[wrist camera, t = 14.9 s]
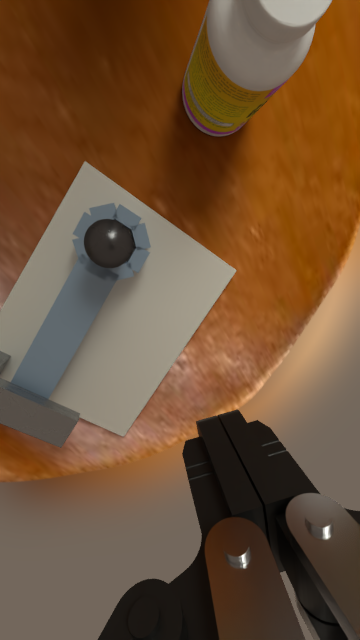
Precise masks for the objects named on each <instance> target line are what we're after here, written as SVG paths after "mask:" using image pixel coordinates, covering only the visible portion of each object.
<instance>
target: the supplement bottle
mask: <svg viewBox="0 0 360 640" xmlns="http://www.w3.org/2000/svg"><path fill="white" fill-rule="evenodd" d="M331 1H332V0H210V1H209V4H208V7H207V10H206V13H205V16H204V19H203V22H202V25H201V28H200V31H199V34H198V37H197V40H196V42H195V45H194V48H193V51H192V54H191V57H190V60H189V63H188V66H187V69H186V72H185V75H184V79H183V85H182V96H183V103H184V107H185V110H186V112H187V114H188V116H189V118H190V120H191V121H192V122H193V124H194V125H195V126H196V127H197V128H198V129H199V130H201V131H202V132H204V133H206V134H209V135H212V136H227V135H230V134H232V133H234V132H236V131H237V130H239V129H240V128H241V127H242V126H243V125H244V124H245V123H246V122H247V121H248V120H249V119H250V118H251V117H252V116H253V115H254V114H255V113H256V112H257V111H258V110H259V109H260V108H261V107H262V106H263V105H264V104H265V103H266V102H267V100H268V99H269V98H270V97H271V96H272V95H273V94H274V93H275V92H276V91H277V90H278V89H279V88H280V87H281V86H282V85H283V84H284V83H285V82H286V81H287V80H288V79H289V78H290V77H291V76H292V75H293V74H294V72H295V71H296V70H297V69H298V68H299V66H300V65H301V63H302V62H303V60H304V59H305V57H306V55H307V53H308V50H309V48H310V45H311V42H312V39H313V35H314V31H315V24H316V23H317V21H318V20H319V19H320V18H321V17H322V15H323V14H324V13H325V11H326V10H327V8H328V7H329V5H330V3H331Z"/></svg>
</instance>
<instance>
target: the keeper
mask: <svg viewBox="0 0 360 640" xmlns="http://www.w3.org/2000/svg"><path fill="white" fill-rule="evenodd" d="M10 357H11V356H10V355H8V354H6V353H4V352H2V351H0V374H1V372H2V371H3V369H4V367H5V366H6V364H7V362H8V361H9V359H10ZM79 416H80V413H78V412H76V411H74V410H71V409H69V408H67V407H65V406H62V405H60V404H58V403H56V402H54V401H51V400H49V399H47V398H45V397H42V396H40V395H38V394H36V393H33V392H31V391H29V390H27V389H24V388H22V387H20V386H18V385H15V384H13V383H11V382H9V381H7V380H4V379H2V378H0V423H1V424H3V425H6V426H8V427H11V428H13V429H16V430H18V431H21V432H23V433H26V434H28V435H31V436H33V437H36V438H38V439H41V440H43V441H46V442H48V443H50V444H53V445H55V446H58V447H60V448H61V447H62V445H63V444H64V442H65V441H66V439H67V438H68V436H69V435H70V433H71V431H72V430H73V428H74V427H75V425H76V424H77V422H78V420H79Z"/></svg>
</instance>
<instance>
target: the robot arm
mask: <svg viewBox="0 0 360 640" xmlns="http://www.w3.org/2000/svg"><path fill="white" fill-rule="evenodd" d="M196 424H197V429H198V434H199V437H197V438H194V439H190V440H187V441H186V442H185V445H184V449H183V453H182V454H183V458H184V463H185V467H186V471H187V475H188V480H189V484H190V488H191V493H192V496H193V500H194V505H195V508H196V513H197V517H198V521H199V525H200V529H201V533H202V542H201V546H200V550H199V552H198V554H197V556H196V558H195V560H194V561H193V563H192V564H191V565H190V566H189V568H187V569H186V570H185V571H184V572H183V573H182V574H180V575H179V576H178V577H177V578H175V579H174V580H173V581H172V582H171V583H169V584H167V583H166V582H164V581H162V580H159V579H147V580H143V581H141V582H139V583H137V584H135V585H134V586H133V587H131V588H130V589H129V590H128V591H127V592H126V593H125V594H124V595H123V597H122V598H121V599H120V601H119V603H118V604H117V606H116V608H115V610H114V611H113V613H112V615H111V617H110V619H109V620H108V622H107V624H106V626H105V628H104V630H103V631H102V633H101V635H100V636H99V638H98V640H305V637H304V635H303V632H302V630H301V627H300V625H299V622H298V619H297V617H296V614H295V611H294V609H293V606H292V603H291V601H290V598H289V596H288V593H287V591H286V588H285V585H284V583H283V580H282V578H281V575H280V572H283V571H286V573H287V575H288V578H289V580H290V582H291V584H292V586H293V588H294V595H295V602H296V605H297V608H298V610H299V612H300V614H301V616H302V618H303V620H304V622H305V624H306V626H307V628H308V630H309V631H310V633H311V635H312V637H313V639H314V640H360V511H353V510H348V509H345V508H343V507H342V506H341V505H340V504H338V503H337V502H336V501H335V500H333V499H331V498H329V497H327V496H324V495H321V494H320V493H319V492H318V490H317V489H316V488H315V487H314V485H313V484H312V483H311V481H310V480H309V479H308V477H307V476H306V475H305V473H304V472H303V471H302V469H301V468H300V467H299V466H298V464H297V463H296V461H295V460H294V459H293V458H292V456H291V455H290V454H289V452H288V451H286V448H285V447H284V446H283V444H282V443H281V442H280V441H279V440H278V438H277V436H276V435H275V434H274V433H273V431H272V430H271V429H270V428H269V427H268V426H266V425H264V424H263V423H261V422H259V421H258V420H257V421H253V422H250V423H247V422H246V420H245V419H244V417H243V416H242V414H241V413H240V411H239V410H234V411H231V412H227V413H224V414H220V415H218V416H213V417H210V418H206V419H202V420H199V421H196Z"/></svg>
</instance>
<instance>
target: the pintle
mask: <svg viewBox="0 0 360 640" xmlns="http://www.w3.org/2000/svg"><path fill="white" fill-rule="evenodd" d="M84 248H85V251H86V253H87V255H88V257H89V258H90V259H91V260H92V261H93V262H94V263H95V264H97V265H99V266H101V267H104V268H116V267H119V266H121V265H123V264H124V263H125V262H126V261H127V260H128V259H129V257H130V255H131V253H132V249H133V241H132V237H131V234H130V232H129V231H128V229H127V228H126V227H125V226H124V225H123V224H121V223H120V222H118V221H116V220H112V219H101V220H98V221H96V222H94V223H93V224H92V225H90V227H89V228H88V229H87V231H86V233H85V236H84Z"/></svg>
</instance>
